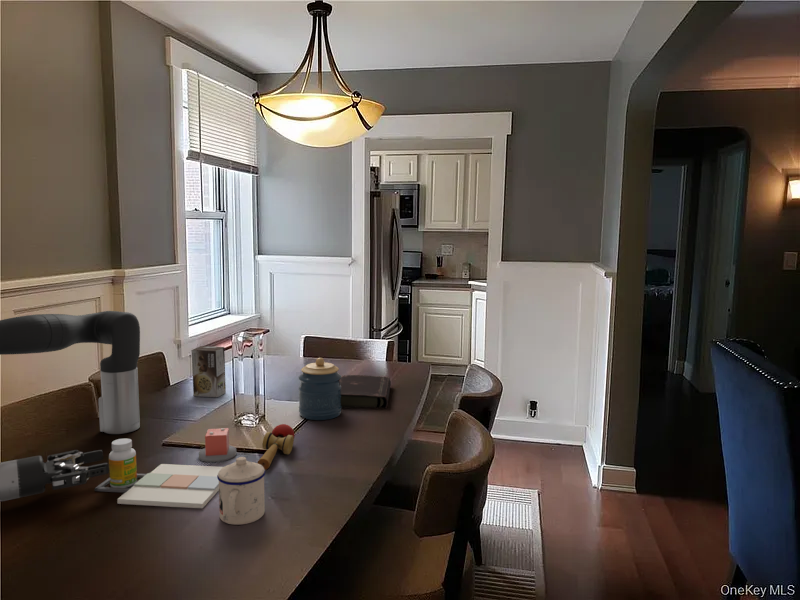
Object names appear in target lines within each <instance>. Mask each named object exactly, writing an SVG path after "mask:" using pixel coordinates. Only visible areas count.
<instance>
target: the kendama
mask: <svg viewBox="0 0 800 600" xmlns="http://www.w3.org/2000/svg"><path fill="white" fill-rule="evenodd" d="M295 435H296V434H295V431H294V429H293V428H292V426H291V425H288V424H286V423H282V424H278V425H276V426H274V428H273V429H272V431H271V432H270V431H267V432H266V433H265V434H264V436H263V440H262V442H261V443H262V449H263V450H266V451H265V452H264V454H263V455H262V456H261V457H260V458H259V459H258V460H257V463H258V464H260V465H262V466H263V467H264V470H265V471H267V470H268V469H270V466H271V464H272V461H273V459H274V458H275V456H276V454H277V451H278V450H281V452H282V453H283V454H284V455H290V454H291V452H292V451H293V447H294V443H295V442H294V440H295Z"/></svg>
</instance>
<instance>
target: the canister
mask: <svg viewBox="0 0 800 600" xmlns="http://www.w3.org/2000/svg"><path fill="white" fill-rule="evenodd" d="M339 369H340V368H339V367H338V366H336V365H335V364H334V363H331V362H326V361H325V359H324V358H323V357H318V358H316V360H315V362H311V363H308V364H306V365H304V366H303V367H302V368H301V372H302V373H300V375H299V376H298V380H299V383H300V384H299V387H298V392H299V393H298V395H299V397H298V398H299V403H298V404H299V405H298V413H299V416H300V417H301V416H302V417H301V418H303V417H304V418H303V419H305V418H306V420H311V421H325V420H332V419H334V418H337V417H339V416H340V415H341V414H342V413H341V412H342V408H341V385H340V379H341V376H342V375H341V374H340V373H339V372H338V371H339Z"/></svg>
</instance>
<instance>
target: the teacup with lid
mask: <svg viewBox="0 0 800 600" xmlns="http://www.w3.org/2000/svg"><path fill="white" fill-rule="evenodd" d="M235 459H236V460H235V461H234V462H233V463H230V464H227V465H225V466H222V467H223V468H222V469H221V470H220V471H219V473H218V475H217V478H218V480H219V491H218V505H219V509H218V510H219V518H220V520H221V521H222V522H224V523H226V524H229V525H234V526H239V525H248V524H252V523H254V522H256V521H258V520H259V519H261V518H262V517H264V514H265V512H266V511H265V509H266V508H265V507H266V506H265V503H266V502H265V476H266V475H265V474H266V470H264V467H263V466H262V465H260V464H258V462H253V461H249V460H247V458H246V457H245V456H239V457H237V458H235Z"/></svg>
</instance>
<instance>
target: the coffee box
mask: <svg viewBox="0 0 800 600" xmlns="http://www.w3.org/2000/svg"><path fill="white" fill-rule="evenodd" d="M225 355H226V354H225V346H209V345H208V346H207V345H206V346H204V345H202V346H201V345H200V346H197V347H195V348H194V349H193V348H192V349H191V363H192V364H191V365H192V366H191V367H192V370H191V371H192V388H193V390H192V392H193V393H192V394H193V395H192V396H194V397H204V398H205V397H206V398H219V397H221V396H222V395H224V394H226V393H227V392H226V391H227V390H226V386H227V385H226V356H225Z"/></svg>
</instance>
